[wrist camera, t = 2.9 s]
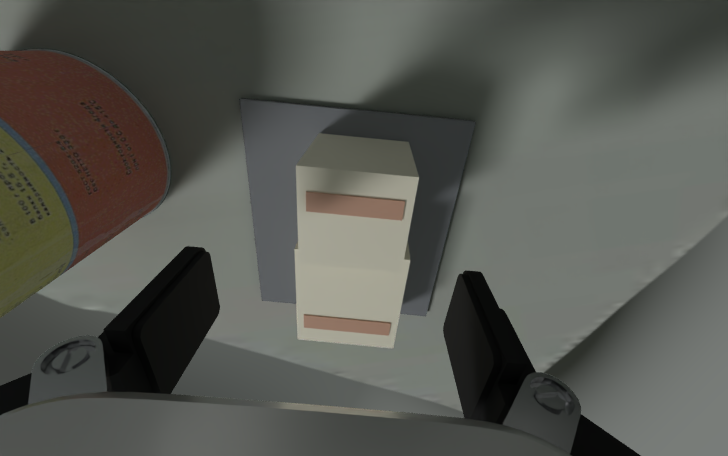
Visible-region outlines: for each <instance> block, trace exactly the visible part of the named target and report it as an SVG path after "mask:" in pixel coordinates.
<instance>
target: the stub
mask: <svg viewBox="0 0 728 456" xmlns="http://www.w3.org/2000/svg"><path fill="white" fill-rule="evenodd" d="M418 181H419V175H418V172H417V168H416V165H415V162H414V158H413V155H412V151H411V148H410V145H409V142H405V141H395V140H384V139H374V138H364V137H353V136H343V135H333V134H322V133H319V134H318V135H317V137H316V138H315V140H314V141H313V142H312V144H311V145H310V147H309V148H308V149H307V151H306V152H305V153H304V155H303V156H302V158H301V159H300V160H299V162H298V163H297V165H296V189H297V224H298V259H299V263H303V264H314V265H324V266H334V267H345V268H355V269H366V270H376V271H386V272H397V273H402V268H403V262H404V257H405V251H406V246H407V241H408V235H409V230H410V224H411V219H412V213H413V208H414V203H415V197H416V192H417V186H418Z"/></svg>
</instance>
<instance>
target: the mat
mask: <svg viewBox="0 0 728 456" xmlns="http://www.w3.org/2000/svg"><path fill="white" fill-rule="evenodd" d="M239 100H240V109H241V118H242V127H243V136H244V145H245V154H246V163H247V172H248V181H249V190H250V199H251V208H252V217H253V226H254V235H255V244H256V253H257V262H258V271H259V280H260V289H261V297H262V301H272V302H283V303H293V304H296V279H295V251H294V249H295V246H296V244H297V242H298V224H297V189H296V165H297V163H298V162H299V160H300V159H301V158H302V156H303V155H304V153H305V152H306V151H307V149H308V148H309V147H310V145H311V144H312V142H313V141H314V140H315V138H316V137H317V135H318V134H319V133H322V134H333V135H343V136H353V137H364V138H374V139H384V140H395V141H405V142H409V145H410V148H411V151H412V155H413V158H414V162H415V165H416V168H417V172H418V175H419V181H418V186H417V192H416V197H415V203H414V208H413V213H412V219H411V224H410V230H409V235H408V245H409V253H410V265H409V270H408V275H407V280H406V285H405V291H404V296H403V301H402V306H401V311H400V314H407V315H418V316H426V314H427V310H428V306H429V302H430V298H431V294H432V290H433V287H434V283H435V279H436V275H437V271H438V267H439V263H440V259H441V256H442V252H443V248H444V244H445V240H446V236H447V232H448V228H449V224H450V221H451V217H452V213H453V209H454V205H455V201H456V197H457V193H458V190H459V186H460V182H461V178H462V174H463V170H464V166H465V162H466V159H467V155H468V151H469V147H470V143H471V139H472V135H473V131H474V127H475V124H476V122H475V121H471V120H461V119H451V118H441V117H430V116H420V115H410V114H399V113H389V112H379V111H369V110H358V109H348V108H338V107H327V106H317V105H307V104H296V103H286V102H276V101H266V100H255V99H245V98H241V99H239Z"/></svg>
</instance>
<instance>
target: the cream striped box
mask: <svg viewBox="0 0 728 456" xmlns="http://www.w3.org/2000/svg"><path fill="white" fill-rule="evenodd" d="M294 251H295V279H296V307H297V335H298V339H300V340H311V341H321V342H331V343H342V344H352V345H363V346H373V347H383V348H393V346H394V341H395V336H396V331H397V326H398V321H399V316H400V311H401V306H402V301H403V296H404V291H405V285H406V280H407V275H408V270H409V265H410V253H409V245H408V241H407V246H406V251H405V257H404V262H403V268H402V273H397V272H386V271H376V270H366V269H355V268H345V267H334V266H324V265H314V264H303V263H299V259H298V242H297V244H296V246H295V249H294Z"/></svg>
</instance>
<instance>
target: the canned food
mask: <svg viewBox="0 0 728 456" xmlns="http://www.w3.org/2000/svg"><path fill="white" fill-rule="evenodd" d="M170 180H171V166H170V159H169V154H168V151H167V147H166V144H165V142H164V139H163V137H162V135H161V133H160V131H159V129H158V127H157V125H156V123H155V122H154V120H153V119H152V117H151V116H150V114H149V113H148V111H147V110H146V109H145V107H144V106H143V105H142V104H141V103H140V101H139V100H138V99H137V98H136V97H135V96H134V95H133V94H132V93H131V92H130V91H129V90H128V89H127V88H126V87H125V86H124V85H123V84H121V83H120V82H119V81H118V80H117V79H115V78H114V77H113V76H111V75H110V74H109V73H107V72H106V71H104V70H103V69H101V68H99V67H98V66H96V65H94V64H92V63H91V62H88V61H86V60H84V59H82V58H80V57H77V56H74V55H72V54H69V53H65V52H62V51H57V50H51V49H26V50H20V51H0V318H1V317H2V316H4V315H5V314H6V313H8V312H9V311H11V310H12V309H14V308H15V307H17V306H18V305H19V304H21V303H22V302H24V301H25V300H26V299H28V298H29V297H30V296H32V295H33V294H35V293H36V292H38V291H39V290H40V289H42V288H43V287H45V286H46V285H47V284H49V283H50V282H52V281H53V280H55V279H56V278H57V277H59V276H60V275H62V274H63V273H64V272H66V271H67V270H69V269H70V268H71V267H73V266H74V265H76V264H77V263H78V262H80V261H81V260H83V259H84V258H85V257H87V256H88V255H90V254H91V253H93V252H94V251H95V250H97V249H98V248H100V247H101V246H102V245H104V244H105V243H107V242H108V241H109V240H111V239H112V238H114V237H115V236H116V235H118V234H119V233H121V232H122V231H123V230H125V229H126V228H128V227H129V226H130V225H132V224H133V223H135V222H136V221H138V220H139V219H140V218H142V217H144V216H146V215H148V214H150V213H151V212H153V211H154V210H155V209H156V208H157V207H158V206H159V205H160V204H161V203H162V202H163V200H164V198H165V197H166V194H167V192H168V189H169V186H170Z"/></svg>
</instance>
